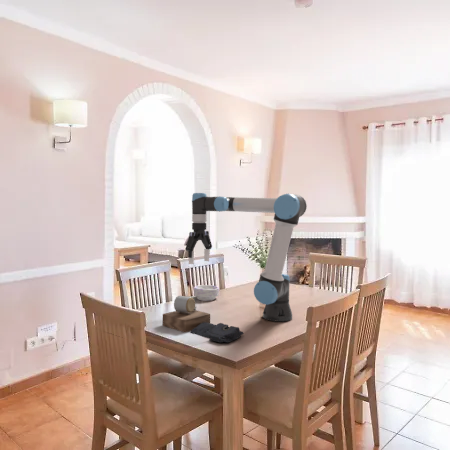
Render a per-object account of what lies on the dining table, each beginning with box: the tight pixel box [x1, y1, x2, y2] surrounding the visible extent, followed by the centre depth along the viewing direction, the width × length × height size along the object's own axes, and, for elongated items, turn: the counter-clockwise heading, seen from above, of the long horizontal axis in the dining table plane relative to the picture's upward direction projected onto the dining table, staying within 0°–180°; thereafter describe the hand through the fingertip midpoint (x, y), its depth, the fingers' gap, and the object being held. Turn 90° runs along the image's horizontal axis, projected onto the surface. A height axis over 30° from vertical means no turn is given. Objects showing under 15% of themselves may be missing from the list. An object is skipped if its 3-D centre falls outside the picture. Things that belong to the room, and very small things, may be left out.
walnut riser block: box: [162, 309, 211, 333], centre depth 201 cm, size 16×16×6 cm
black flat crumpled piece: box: [189, 322, 244, 343], centre depth 189 cm, size 15×22×5 cm
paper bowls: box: [193, 284, 220, 302], centre depth 255 cm, size 15×15×8 cm
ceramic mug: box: [173, 295, 197, 313], centre depth 203 cm, size 11×8×8 cm
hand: (199, 262), depth 222 cm, fingers open, 13 cm apart
